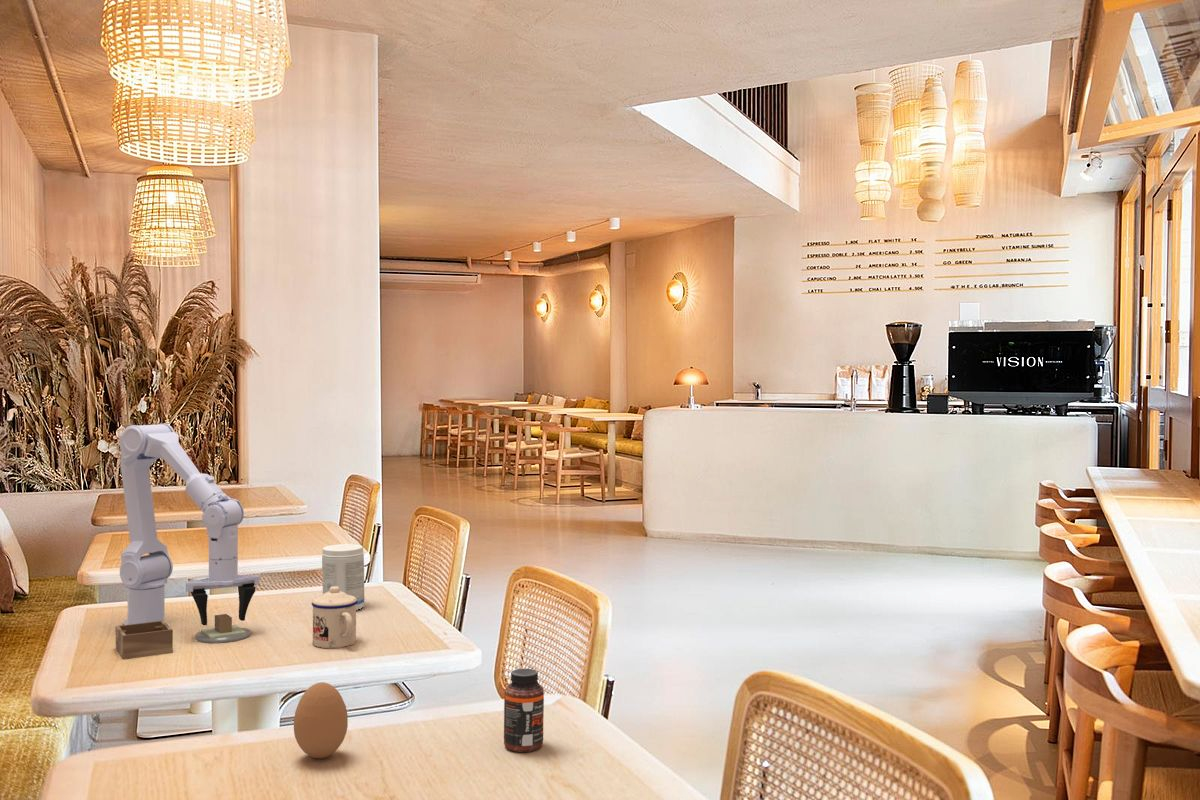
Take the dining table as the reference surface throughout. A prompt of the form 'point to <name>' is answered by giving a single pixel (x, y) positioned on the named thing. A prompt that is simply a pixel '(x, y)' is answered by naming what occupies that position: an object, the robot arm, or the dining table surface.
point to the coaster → (203, 638)
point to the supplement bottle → (523, 712)
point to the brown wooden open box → (144, 639)
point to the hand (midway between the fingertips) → (223, 622)
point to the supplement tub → (344, 570)
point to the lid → (223, 628)
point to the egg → (320, 720)
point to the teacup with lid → (334, 619)
